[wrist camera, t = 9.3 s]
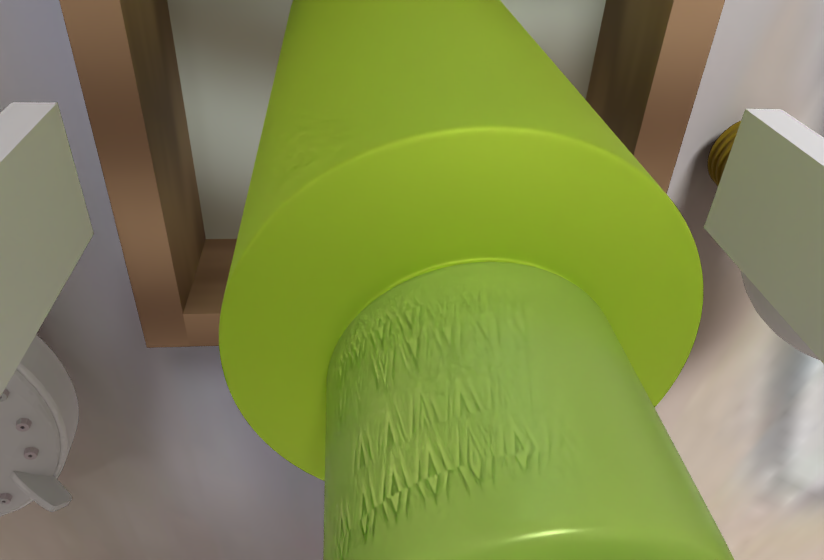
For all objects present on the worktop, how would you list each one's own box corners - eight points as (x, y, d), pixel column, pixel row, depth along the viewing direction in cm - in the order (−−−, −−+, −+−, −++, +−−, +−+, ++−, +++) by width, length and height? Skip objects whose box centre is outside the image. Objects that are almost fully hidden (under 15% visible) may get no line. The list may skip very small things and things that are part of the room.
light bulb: (648, 83, 21) (843, 255, 13) (833, 36, 21) (1152, 181, 13) (650, 234, 24) (805, 443, 16) (809, 195, 24) (1047, 390, 16)
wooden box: (77, -284, 15) (-21, -320, 11) (687, -243, 16) (804, -261, 12) (180, 253, 23) (146, 347, 19) (576, 247, 25) (623, 334, 20)
